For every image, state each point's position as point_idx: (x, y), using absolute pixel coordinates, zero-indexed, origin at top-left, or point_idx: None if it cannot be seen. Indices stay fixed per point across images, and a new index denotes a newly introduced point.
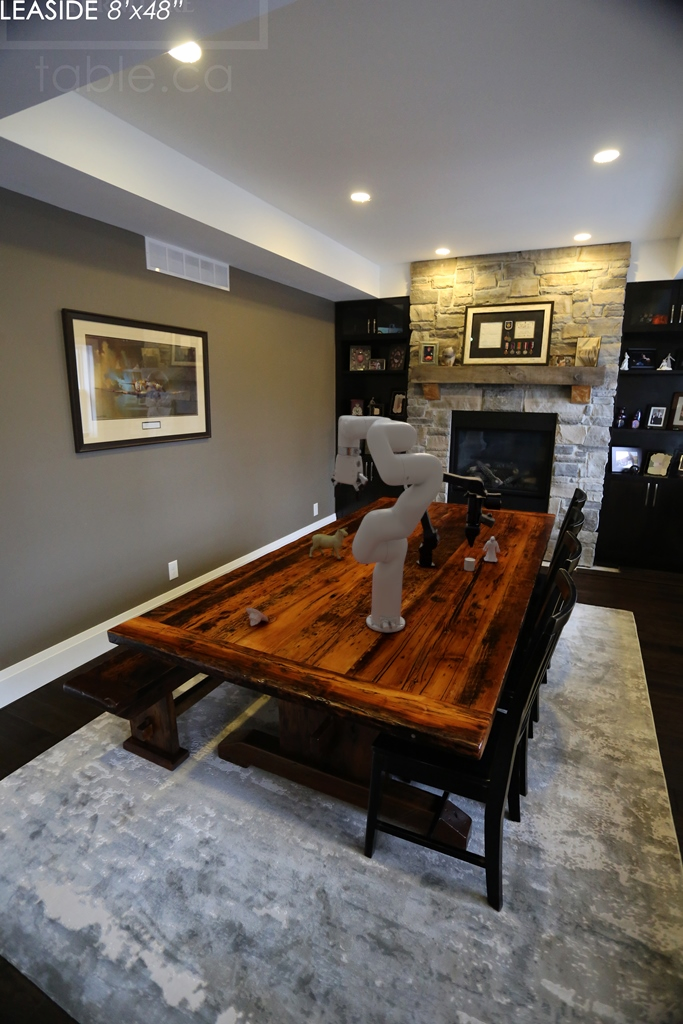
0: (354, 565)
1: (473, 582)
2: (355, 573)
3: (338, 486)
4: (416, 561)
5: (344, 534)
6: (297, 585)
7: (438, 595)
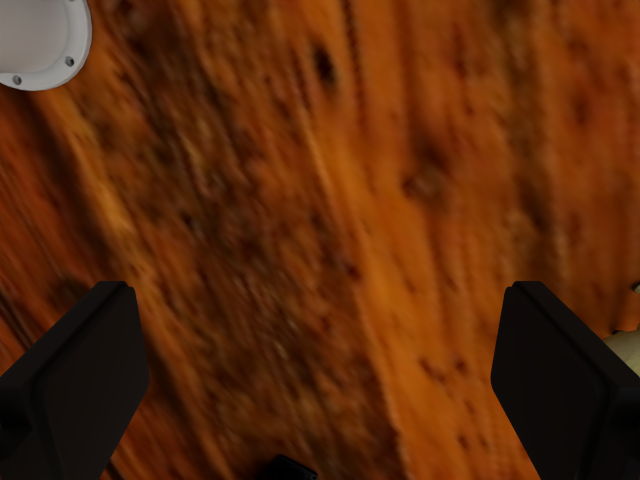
0: (455, 334)
1: None
2: (404, 283)
3: (591, 464)
4: (315, 475)
5: None
6: (502, 37)
7: None
